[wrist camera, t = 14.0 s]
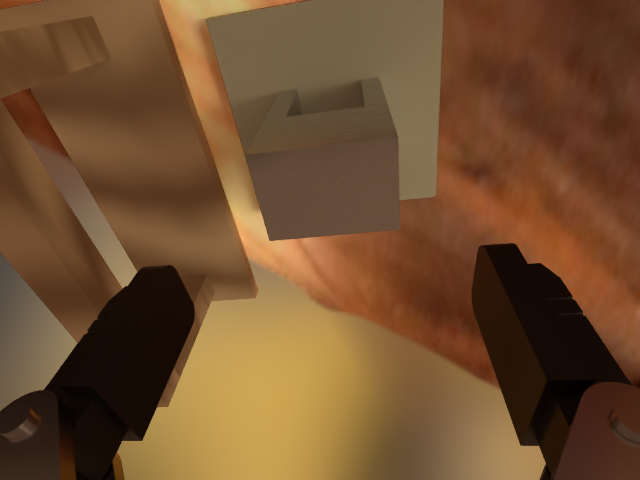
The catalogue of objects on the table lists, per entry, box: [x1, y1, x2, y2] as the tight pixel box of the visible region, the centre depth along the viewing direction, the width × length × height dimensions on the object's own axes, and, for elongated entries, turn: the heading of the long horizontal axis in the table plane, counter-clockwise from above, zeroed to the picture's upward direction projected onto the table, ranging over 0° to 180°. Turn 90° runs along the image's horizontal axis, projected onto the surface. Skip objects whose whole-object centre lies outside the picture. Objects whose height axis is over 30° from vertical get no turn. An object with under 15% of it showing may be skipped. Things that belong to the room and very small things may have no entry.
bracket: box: [246, 77, 400, 241], centre depth 18 cm, size 4×6×9 cm
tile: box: [206, 0, 444, 213], centre depth 22 cm, size 12×12×1 cm
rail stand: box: [0, 0, 258, 407], centre depth 21 cm, size 22×9×11 cm, turn 9°
